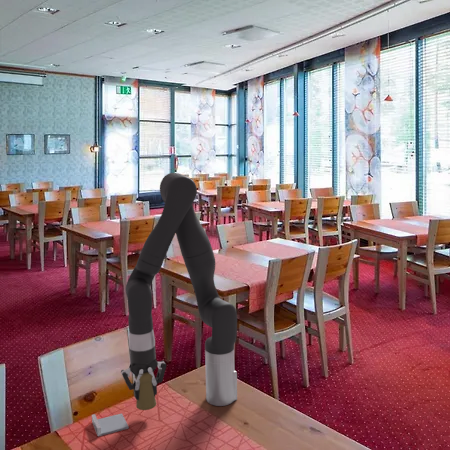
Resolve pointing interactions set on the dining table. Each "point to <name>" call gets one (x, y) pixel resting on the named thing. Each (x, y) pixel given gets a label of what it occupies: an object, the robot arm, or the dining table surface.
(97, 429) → the rail
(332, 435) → the dining table surface
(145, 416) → the dining table surface
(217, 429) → the dining table surface
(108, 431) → the slate shelf board
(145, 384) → the cork
